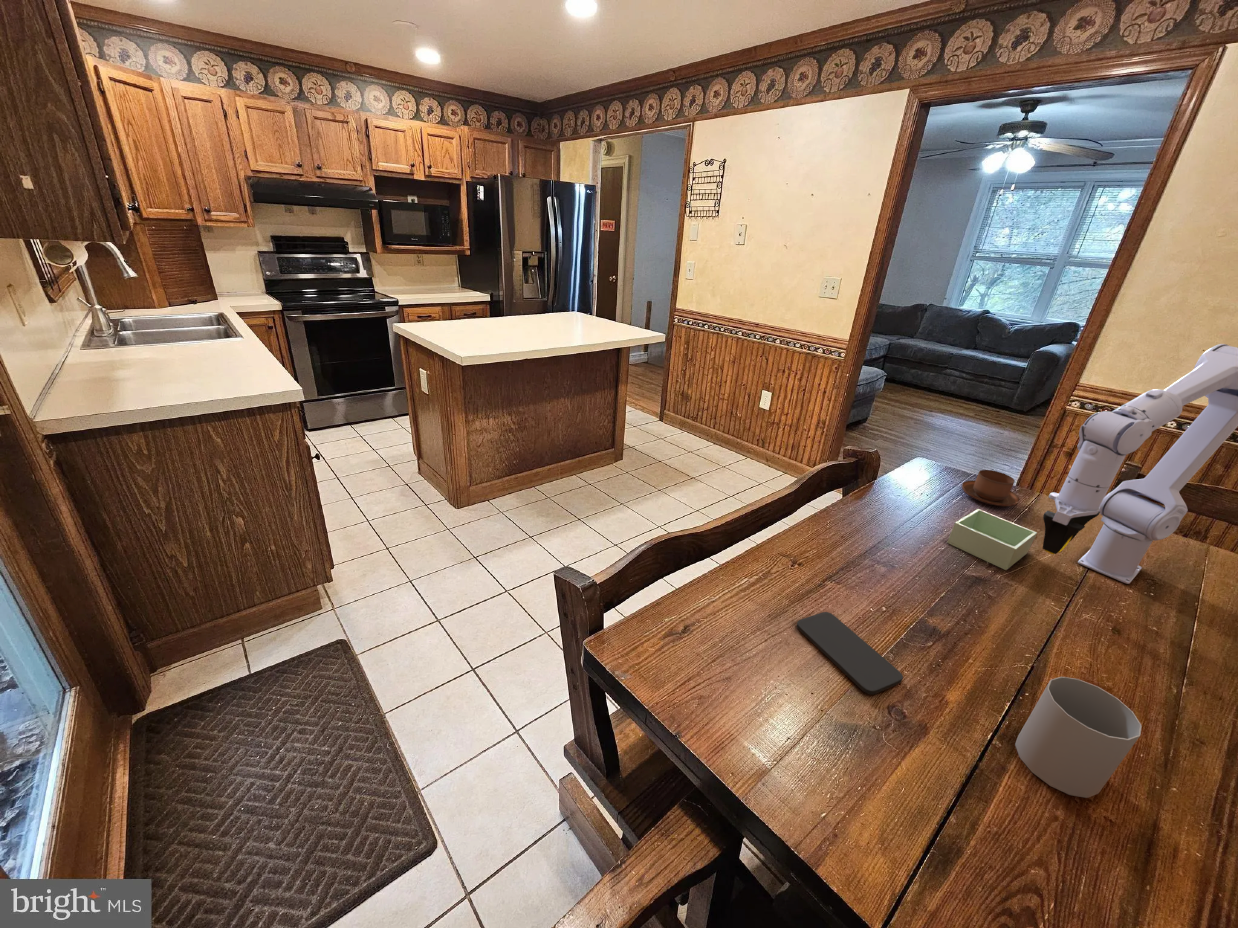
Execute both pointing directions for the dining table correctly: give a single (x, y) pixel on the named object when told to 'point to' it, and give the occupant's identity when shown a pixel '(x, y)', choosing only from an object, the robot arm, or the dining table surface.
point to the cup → (1077, 736)
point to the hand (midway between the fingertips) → (1056, 545)
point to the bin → (991, 538)
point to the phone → (850, 653)
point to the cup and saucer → (992, 488)
